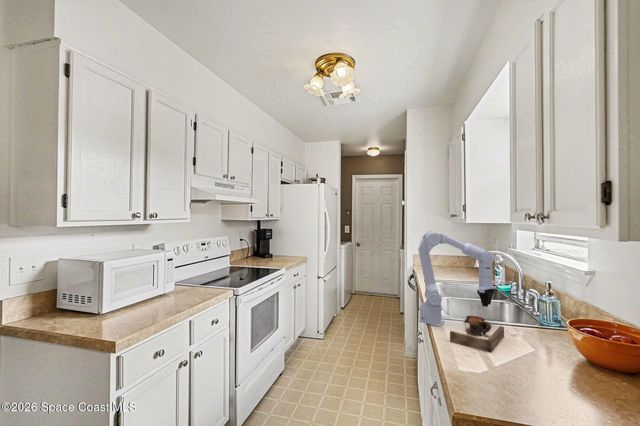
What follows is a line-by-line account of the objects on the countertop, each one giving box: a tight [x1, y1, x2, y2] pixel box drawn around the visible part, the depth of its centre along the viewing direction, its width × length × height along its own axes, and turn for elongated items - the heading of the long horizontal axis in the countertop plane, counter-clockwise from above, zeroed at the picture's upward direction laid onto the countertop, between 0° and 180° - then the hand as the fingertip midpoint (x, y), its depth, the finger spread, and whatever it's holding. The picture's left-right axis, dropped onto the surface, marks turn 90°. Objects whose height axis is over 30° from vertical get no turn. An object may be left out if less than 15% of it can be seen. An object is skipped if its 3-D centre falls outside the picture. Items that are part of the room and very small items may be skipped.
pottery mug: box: [464, 315, 492, 337], centre depth 130 cm, size 12×10×8 cm
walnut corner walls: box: [449, 325, 505, 354], centre depth 123 cm, size 15×20×4 cm
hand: (486, 305), depth 139 cm, fingers open, 4 cm apart
